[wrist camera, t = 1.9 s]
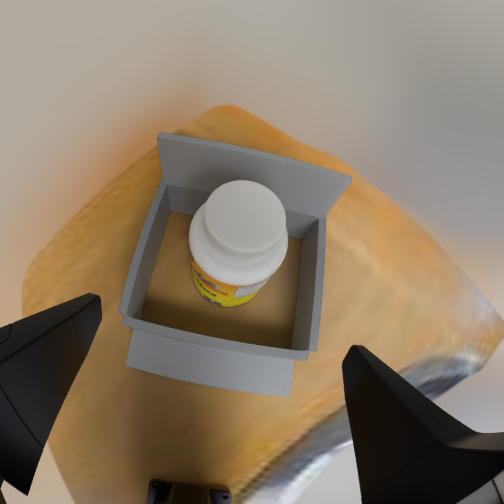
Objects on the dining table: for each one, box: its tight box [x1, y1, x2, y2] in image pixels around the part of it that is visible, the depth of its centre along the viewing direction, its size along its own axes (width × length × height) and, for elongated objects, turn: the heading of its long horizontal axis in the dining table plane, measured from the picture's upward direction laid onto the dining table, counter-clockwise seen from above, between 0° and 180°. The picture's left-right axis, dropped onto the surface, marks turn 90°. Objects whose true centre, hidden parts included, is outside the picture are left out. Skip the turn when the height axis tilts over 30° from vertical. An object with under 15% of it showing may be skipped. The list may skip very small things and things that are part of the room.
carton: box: [118, 132, 351, 397], centre depth 17 cm, size 14×13×9 cm
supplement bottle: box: [189, 180, 288, 308], centre depth 18 cm, size 6×6×10 cm
